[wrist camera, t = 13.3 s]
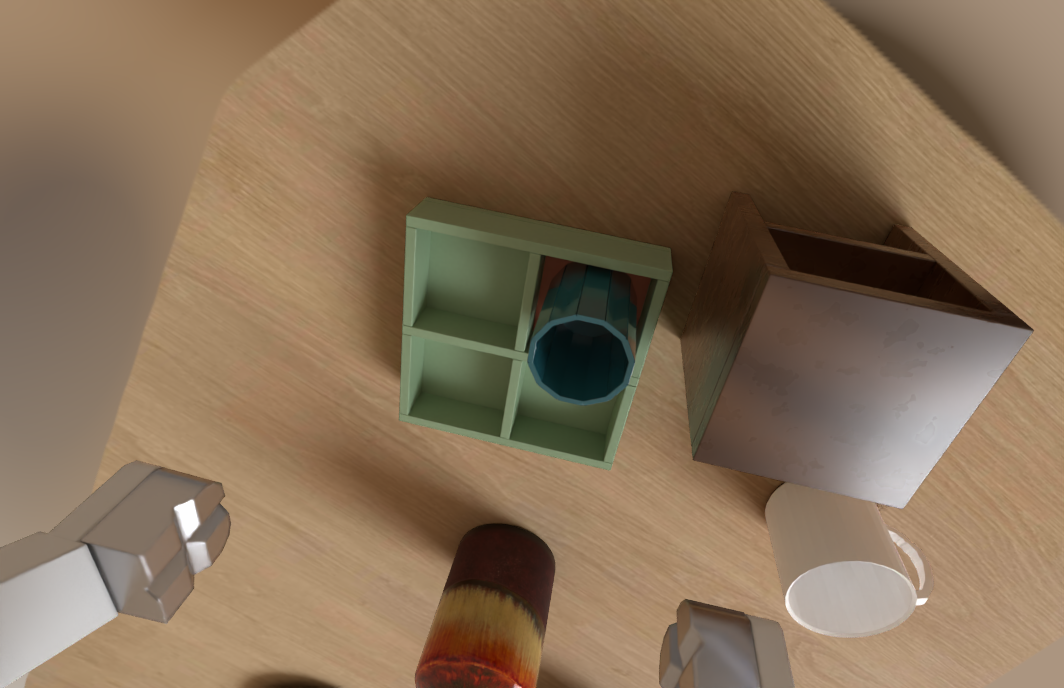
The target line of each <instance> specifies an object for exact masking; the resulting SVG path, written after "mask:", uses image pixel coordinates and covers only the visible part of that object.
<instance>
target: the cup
mask: <svg viewBox="0 0 1064 688" xmlns="http://www.w3.org/2000/svg"><path fill="white" fill-rule="evenodd" d="M636 321H637V296H636V292H635V289H634V286H633V283H632V280H631V278H630V277H629V276H628V275H627V274H626V273H625V272H620V271H616V270H611V269H606V268H602V267H597V266H592V265H588V264H583V263H578V262H571V263H568V264H567V265H565V266H564V267H563V268H562V269H561V270H560V271H559V272H558V273H557V274H556V276H555V277H554V278H553V279H552V281H551V283H550V286H549V289H548V291H547V294H546V297H545V300H544V303H543V306H542V309H541V312H540V315H539V318H538V320H537V323H536V326H535V329H534V332H533V335H532V338H531V342H530V347H529V353H528V358H527V363H528V366H529V368H530V370H531V373H532V375H533V377H534V379H535V382H536V384H537V385H538V386H539V387H541V388H542V389H543V390H545V391H546V392H547V393H549V394H550V395H551V396H552V397H554V398H555V399H556V400H557V399H558V400H559V401H563V402H567V403H572V404H576V405H580V406H583V405H584V406H587V405H592V404H597V403H602V402H607V401H609V400H611V399H612V398H613V397H615V396H616V395H617V394H618V393H620V392H621V391H622V390H623V389H624V388H626V387H627V386H628V384H629V382H630V379H631V375H632V372H633V369H634V366H635V353H636Z"/></svg>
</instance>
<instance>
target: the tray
mask: <svg viewBox="0 0 1064 688" xmlns="http://www.w3.org/2000/svg"><path fill="white" fill-rule="evenodd" d="M571 262H578V263H583V264H588V265H592V266H597V267H602V268H606V269H611V270H616V271H620V272H625V273H626V274H627V275H628V276H629V277H630V278H631V280H632V283H633V286H634V289H635V292H636V296H637V321H636V353H635V366H634V369H633V372H632V375H631V379H630V382H629V384H628V386H627V387H626V388H624V389H623V390H622V391H621V392H620V393H618V394H617V395H616V396H615V397H613V398H612V399H611V400H609V401H607V402H602V403H597V404H592V405H587V406H584V405H583V406H580V405H576V404H572V403H567V402H563V401H559V400H558V399H557V400H556V399H555V398H554V397H552V396H551V395H550V394H549V393H547V392H546V391H545V390H543V389H542V388H541V387H539V386H538V385H537V384H536V382H535V379H534V377H533V375H532V373H531V370H530V368H529V366H528V363H527V358H528V353H529V347H530V342H531V338H532V335H533V332H534V329H535V326H536V323H537V320H538V318H539V315H540V312H541V309H542V306H543V303H544V300H545V297H546V294H547V291H548V289H549V286H550V283H551V281H552V279H553V278H554V277H555V276H556V274H557V273H558V272H559V271H560V270H561V269H562V268H563V267H564V266H565V265H567V264H568V263H571ZM672 273H673V269H672V259H671V248H667V247H663V246H658V245H653V244H648V243H643V242H639V241H634V240H629V239H624V238H620V237H615V236H610V235H605V234H601V233H596V232H591V231H586V230H581V229H577V228H572V227H567V226H562V225H558V224H553V223H548V222H543V221H538V220H534V219H529V218H524V217H519V216H515V215H510V214H505V213H500V212H496V211H491V210H486V209H481V208H476V207H472V206H467V205H462V204H457V203H453V202H448V201H443V200H438V199H433V198H429V197H426V198H425V199H424V200H423V201H422V202H421V203H419V204H418V205H417V206H416V207H415V208H414V209H413V210H412V211H410V212H409V213H408V214H407V215H406V238H405V266H404V295H403V325H402V350H401V379H400V407H399V421H403V422H408V423H412V424H416V425H420V426H425V427H429V428H433V429H437V430H441V431H446V432H450V433H454V434H458V435H462V436H467V437H471V438H475V439H479V440H484V441H488V442H492V443H496V444H500V445H505V446H509V447H513V448H517V449H521V450H526V451H530V452H534V453H538V454H543V455H547V456H551V457H555V458H559V459H564V460H568V461H572V462H576V463H580V464H585V465H589V466H593V467H597V468H602V469H606V470H611V467H612V464H613V461H614V457H615V454H616V451H617V448H618V445H619V441H620V438H621V435H622V432H623V429H624V426H625V422H626V419H627V416H628V413H629V410H630V407H631V403H632V400H633V397H634V394H635V391H636V387H637V384H638V381H639V377H640V375H641V372H642V368H643V365H644V362H645V359H646V356H647V353H648V349H649V346H650V343H651V340H652V337H653V333H654V330H655V327H656V324H657V321H658V318H659V314H660V311H661V308H662V305H663V302H664V298H665V295H666V292H667V289H668V286H669V282H670V280H671V276H672Z"/></svg>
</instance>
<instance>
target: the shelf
mask: <svg viewBox="0 0 1064 688" xmlns="http://www.w3.org/2000/svg"><path fill="white" fill-rule="evenodd" d="M1033 331H1034V330H1033V329H1032V328H1031V327H1030V326H1029V325H1027V324H1026V323H1025V322H1024V321H1023V320H1021V319H1020V318H1019V317H1018V316H1016V315H1015V314H1014V313H1013V312H1012V311H1011V310H1009V309H1008V308H1007V307H1006V306H1005V305H1003V304H1002V303H1001V302H1000V301H999V300H997V299H996V298H995V297H994V296H993V295H991V294H990V293H989V292H988V291H987V290H986V289H984V288H983V287H982V286H981V285H980V284H978V283H977V282H976V281H975V280H974V279H972V278H971V277H970V276H969V275H968V274H966V273H965V272H964V271H963V270H962V269H961V268H959V267H958V266H957V265H956V264H955V263H953V262H952V261H951V260H950V259H949V258H947V257H946V256H945V255H944V254H943V253H941V252H940V251H939V250H938V249H937V248H936V247H934V246H933V245H932V244H931V243H930V242H928V241H927V240H926V239H925V238H924V237H922V236H921V235H920V234H919V233H918V232H916V231H915V230H914V229H913V228H912V227H907V226H902V225H897V224H895V225H894V226H893V228H892V230H891V232H890V234H889V236H888V238H887V240H886V241H885V243H884V245H878V244H873V243H868V242H863V241H858V240H853V239H848V238H844V237H839V236H834V235H829V234H824V233H819V232H814V231H809V230H804V229H799V228H795V227H790V226H785V225H780V224H775V223H770V222H764V221H763V219H762V218H761V216H760V214H759V212H758V210H757V208H756V206H755V205H754V203H753V201H752V199H751V197H750V195H748V194H743V193H738V192H733V191H732V192H731V195H730V198H729V201H728V204H727V207H726V210H725V212H724V215H723V218H722V221H721V224H720V227H719V230H718V233H717V236H716V238H715V241H714V244H713V247H712V250H711V253H710V256H709V259H708V262H707V264H706V267H705V270H704V273H703V276H702V279H701V282H700V285H699V287H698V290H697V293H696V296H695V299H694V302H693V305H692V308H691V311H690V313H689V316H688V319H687V322H686V325H685V328H684V331H683V334H682V336H681V339H680V340H681V349H682V359H683V369H684V379H685V389H686V398H687V408H688V418H689V428H690V438H691V446H692V456H693V460H694V461H699V462H703V463H707V464H711V465H716V466H720V467H724V468H729V469H733V470H737V471H741V472H746V473H750V474H754V475H759V476H763V477H767V478H771V479H776V480H780V481H784V482H788V483H793V484H797V485H801V486H806V487H810V488H814V489H818V490H823V491H827V492H831V493H836V494H840V495H844V496H848V497H853V498H857V499H861V500H865V501H870V502H874V503H878V504H883V505H887V506H891V507H895V508H900V509H903V508H904V507H905V505H906V504H907V503H908V501H909V500H910V499H911V497H912V496H913V494H914V493H915V492H916V490H917V489H918V488H919V486H920V485H921V484H922V482H923V481H924V479H925V478H926V477H927V475H928V474H929V473H930V471H931V470H932V469H933V467H934V466H935V465H936V463H937V462H938V460H939V459H940V458H941V456H942V455H943V454H944V452H945V451H946V450H947V448H948V447H949V445H950V444H951V443H952V441H953V440H954V439H955V437H956V436H957V435H958V433H959V432H960V431H961V429H962V428H963V426H964V425H965V424H966V422H967V421H968V420H969V418H970V417H971V416H972V414H973V413H974V411H975V410H976V409H977V407H978V406H979V405H980V403H981V402H982V401H983V399H984V398H985V397H986V395H987V394H988V392H989V391H990V390H991V388H992V387H993V386H994V384H995V383H996V382H997V380H998V379H999V378H1000V376H1001V375H1002V373H1003V372H1004V371H1005V369H1006V368H1007V367H1008V365H1009V364H1010V363H1011V361H1012V360H1013V358H1014V357H1015V356H1016V354H1017V353H1018V352H1019V350H1020V349H1021V348H1022V346H1023V345H1024V344H1025V342H1026V341H1027V339H1028V338H1029V337H1030V335H1031V334H1032V333H1033Z"/></svg>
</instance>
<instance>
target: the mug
mask: <svg viewBox="0 0 1064 688" xmlns="http://www.w3.org/2000/svg"><path fill="white" fill-rule="evenodd" d="M765 518H766V523H767V527H768V531H769V535H770V540H771V544H772V548H773V553H774V557H775V561H776V565H777V570H778V574H779V578H780V583H781V587H782V591H783V595H784V600H785V604H786V607H787V610H788V612H789V613H790V615H791V616H792V618H793V619H794V620H796V621H797V622H798V623H799V624H800V625H802V626H804V627H805V628H807V629H809V630H812V631H814V632H817V633H820V634H824V635H828V636H834V637H844V638H856V637H866V636H871V635H876V634H880V633H883V632H886V631H889V630H891V629H893V628H895V627H897V626H898V625H900V624H901V623H903V622H904V621H905V620H907V618H908V617H909V616H910V615H911V614H912V613H913V611H914V609H915V607H916V605H922V604H924V603H925V602H926V601H927V599H928V598H929V596H930V594H931V592H932V590H933V587H934V579H933V571H932V567H931V565H930V563H929V561H928V560H927V558H926V556H925V554H924V553H923V551H922V549H920V548H919V547H918V546H917V545H916V544H915V543H912V542H911V540H910V539H909V538H908V537H906V536H905V535H904V534H903V533H901V532H900V531H899V530H897V529H896V528H894V527H892V526H889V525H887V524H885V523H884V521H883V518H882V516H881V514H880V512H879V510H878V508H877V505H876V503H874V502H870V501H865V500H861V499H857V498H853V497H848V496H844V495H840V494H836V493H831V492H827V491H823V490H818V489H814V488H810V487H806V486H801V485H797V484H793V483H788V482H786V483H784V484H783V485H781V486H780V487H779V488H777V489H776V490H775V492H774V493H773V494H772V495H771V497H770V499H769V500H768V502H767V505H766V509H765ZM894 542H896V544H897V545H898V546H900V547H901V548H902V550H903V551H904V552H905V553H907V554H908V555H909V557H910V559H911V561H912V562H913V563H914V565H915V567H916V569H917V572H918V576H919V580H920V588H919V590H915V588H914V586H913V583H912V581H911V579H910V577H909V575H908V573H907V570H906V568H905V566H904V564H903V562H902V560H901V557H900V555H899V553H898V551H897V549H896V547H895V544H894Z"/></svg>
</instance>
